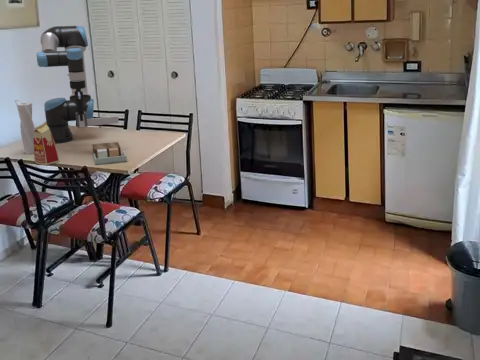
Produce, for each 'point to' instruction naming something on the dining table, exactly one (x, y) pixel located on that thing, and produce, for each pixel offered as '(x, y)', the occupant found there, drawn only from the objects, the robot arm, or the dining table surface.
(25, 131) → the skyscraper
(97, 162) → the tray
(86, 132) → the dining table surface
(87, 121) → the scraper
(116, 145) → the board
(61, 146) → the dining table surface
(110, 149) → the tile terracotta
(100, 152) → the tile white
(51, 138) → the milk carton
